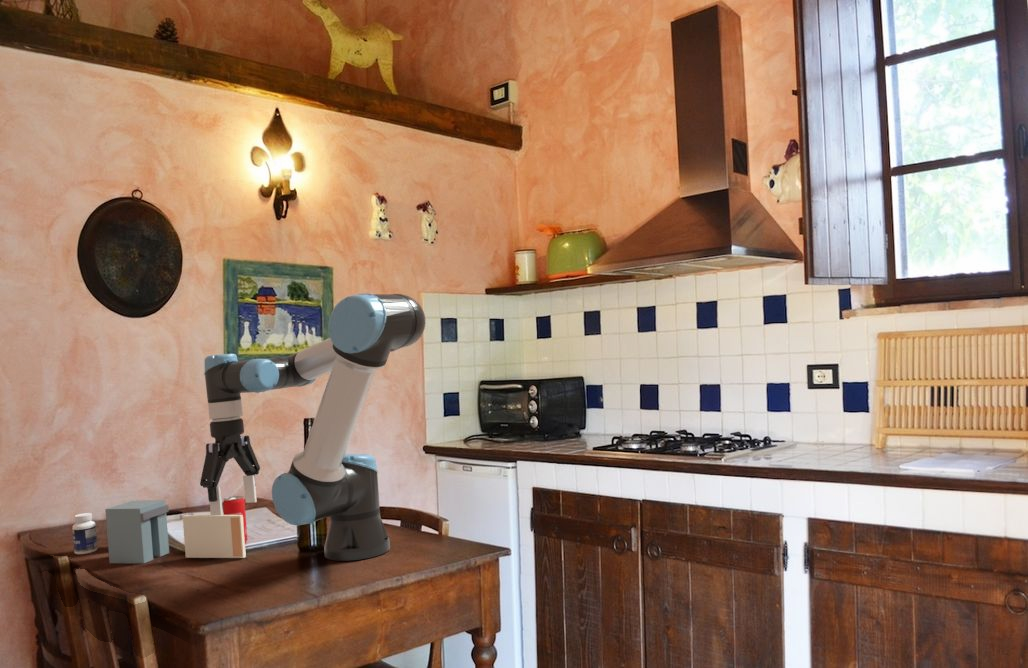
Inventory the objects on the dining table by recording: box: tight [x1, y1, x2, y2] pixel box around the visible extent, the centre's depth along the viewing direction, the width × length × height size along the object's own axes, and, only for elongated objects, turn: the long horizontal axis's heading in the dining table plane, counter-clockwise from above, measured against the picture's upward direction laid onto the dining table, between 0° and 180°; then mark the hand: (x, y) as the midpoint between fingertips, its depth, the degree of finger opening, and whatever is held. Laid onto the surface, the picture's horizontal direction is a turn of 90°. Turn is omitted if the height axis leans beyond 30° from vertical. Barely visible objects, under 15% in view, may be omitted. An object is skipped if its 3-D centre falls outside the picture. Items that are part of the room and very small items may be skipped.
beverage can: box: [222, 495, 248, 543], centre depth 210 cm, size 5×5×12 cm
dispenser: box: [104, 500, 170, 564], centre depth 203 cm, size 11×9×13 cm
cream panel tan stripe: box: [182, 514, 247, 559], centre depth 198 cm, size 16×1×10 cm, turn 74°
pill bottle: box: [72, 512, 98, 555], centre depth 214 cm, size 5×5×10 cm
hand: (234, 508), depth 196 cm, fingers open, 13 cm apart
